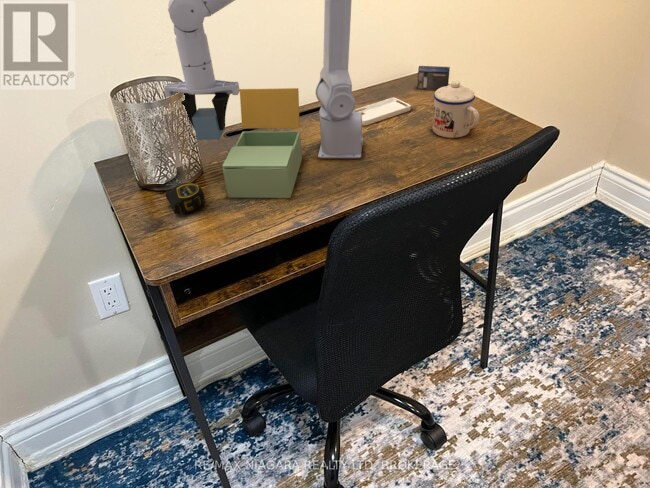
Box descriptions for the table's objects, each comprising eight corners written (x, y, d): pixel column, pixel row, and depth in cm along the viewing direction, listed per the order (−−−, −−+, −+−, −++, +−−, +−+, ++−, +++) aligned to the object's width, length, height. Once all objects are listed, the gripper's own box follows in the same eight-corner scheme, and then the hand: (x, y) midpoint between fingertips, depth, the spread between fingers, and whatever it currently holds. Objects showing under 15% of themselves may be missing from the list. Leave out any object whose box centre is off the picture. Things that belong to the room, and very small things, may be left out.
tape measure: (167, 203, 104) (162, 187, 101) (200, 193, 106) (196, 177, 104) (176, 220, 99) (171, 203, 97) (210, 209, 101) (206, 192, 99)
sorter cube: (219, 139, 105) (215, 117, 102) (196, 139, 105) (191, 117, 103) (225, 129, 109) (221, 107, 106) (203, 129, 109) (198, 108, 106)
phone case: (363, 126, 126) (411, 110, 132) (363, 121, 126) (411, 105, 131) (347, 116, 132) (393, 101, 137) (346, 111, 131) (393, 96, 137)
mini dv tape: (417, 89, 143) (418, 67, 139) (417, 87, 144) (419, 65, 141) (447, 90, 141) (449, 68, 138) (447, 88, 142) (449, 66, 139)
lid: (242, 128, 113) (242, 128, 113) (299, 128, 111) (299, 128, 112) (239, 89, 110) (240, 89, 111) (298, 88, 109) (298, 88, 109)
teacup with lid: (423, 129, 123) (426, 81, 116) (450, 118, 127) (454, 71, 120) (461, 147, 115) (466, 97, 108) (488, 135, 119) (496, 85, 112)
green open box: (246, 157, 117) (241, 127, 113) (302, 157, 116) (299, 127, 111) (228, 197, 104) (221, 166, 100) (290, 198, 103) (286, 166, 98)
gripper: (238, 53, 100) (248, 119, 109) (166, 55, 102) (182, 120, 110) (229, 66, 95) (241, 134, 103) (153, 68, 96) (171, 135, 105)
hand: (210, 128), depth 106 cm, fingers closed on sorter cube, 5 cm apart
